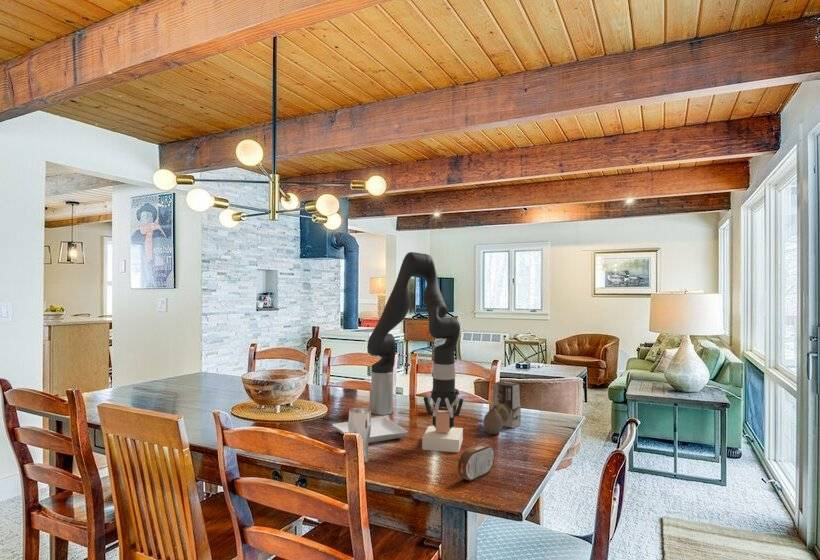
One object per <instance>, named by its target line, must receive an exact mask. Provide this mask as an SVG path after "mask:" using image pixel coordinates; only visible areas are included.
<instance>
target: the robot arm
mask: <svg viewBox="0 0 820 560" xmlns="http://www.w3.org/2000/svg"><path fill="white" fill-rule="evenodd" d="M398 271H399V272H398V274H397V278H396V281H395V283H394V286H393V289H392V290H391V293H390V295H389V297H388V299H387V302H386V304H385V306H384V309H383V311H382V312H381V313H382V314H381V315H380V318H379V319H378V322H377V324H376V325H375V327H374V329H373V330H372V332H371V334H370V335H369V338H368V341H367V352H368V354H369V355H371V356H375V357H380V359H379V360H378V361H376V362H375V363H372V365H371V370H370V371H371V372H370V373H371V375H370V376H371V378H370V379H371V381H370V390H369V405H368V406H369V408H368V409H370V410H371V414H372V415H377V416H378V415H379V416H380V415H382V416H383V415H386V416H387V415H390V414H393V411H394V410H393V408H394V407H393V403H394V401H393V400H394V399H393V397H394V367H395V361H396V349H397V348H396V347H397V346H396V343H397V342H396V340H395V338H396V337H394V335H393V334H392V333H390V332H391V331H392V330H393V329H395V328H396V327H397V326H398V325H400V323H402V322H403V321H404V319H405V318H406V316H407V315H408V312H409V310H410V309H411V305H412V302H411V301H412V300H411V296H410V295H411V294H410V293H409V292H410V291H409V286H408V285H409V283H410V280H411V278H412V277H414V278H421V279H422V278H423V279H424V281H425V282H426V286H425V289H424V292H423V293H422V294H423V295H422V299H423V300H422V301H423V303H424V306H425V310H426V312H427V315H428V316H427V317H428V331H429V334H430V336H431V337H433V339H441V340H442V339H445V341H444V343H443V344H440V345H437V346H434V349H433V367H432V389H433V392H432V394H431V393H430V395H427V394H426V395H425V396H424V397H423V402H424V406H425V408H426V409H425V410H426V413H427V414H428V415H431V417H432V426H434V427H435V428H436V413H437V411H438V409H439V407H445V408H448V411H449V413H450V424H449V428H450V429H451V428H452V427H453V428H454V424H455V417H458V416H459V415H460V413H461V410H462V407H463V404H464V401H465V400H464V399H465V398H463V397H459V396H458V397H457V396H456V394H455V389H456V366H455V358H456V357H455V353H456V352H455V351H456V348H457V343H458V340H459V336H460V334H461V325H460V322H459V320H458V319H457V318H455V317H446V316H447V314H448V306H447V304H446V302H445V300H444V297H443V294H442V292H441V289H440V285H439V280H438V274H437V269H436V265H435V261H434V259H433V257H432V256H431V255H429V254H427V253H420V252H415V251H411V252H407V253H406V255H405V256H404V257H403V260H402V263H401V265H400V269H399V270H398ZM431 399H432V400H431ZM455 400H456V401H457V409H456V412H454V411H453V407H452V403H453V402H454V401H455ZM431 401H432V402H433V401H434V402H435V404H436V405H435V408H434V410H432V406H431V403H430V402H431Z"/></svg>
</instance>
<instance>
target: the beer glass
mask: <svg viewBox="0 0 820 560" xmlns="http://www.w3.org/2000/svg"><path fill="white" fill-rule="evenodd" d="M371 419H372V413H371V410H370V409H369V408H365V407H354V408H350V409H349V411H348V421H347V422H348V430H349V433H359V434H360V435H361V436H362V439H363V446H364V457H365V462H364V463H368V462H369V461H370V454H369V444H370V443H369V438H370V432H371Z"/></svg>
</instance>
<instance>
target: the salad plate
mask: <svg viewBox="0 0 820 560" xmlns="http://www.w3.org/2000/svg"><path fill="white" fill-rule="evenodd" d="M332 427H333V429H335V430H336V431H337V432H338V433H340V434H342V435H343V434H344V433H345V432H349V430H348V421H344V422H338V423H337V422H336V423H332ZM407 434H408V430H406V429H405V428H404V427H401V426H400V425H398V424H396V423H395V422H393V421H392V420H390V419H388V418H387V417H383V416H382V417H381V416H380V417H374V418H371V432H370V438H369V443H368V444H371V443H378V442H379V443H380V442H383V441H384V442H387V441H391V440H396V439H400V438H402V437H404V436H406V435H407Z"/></svg>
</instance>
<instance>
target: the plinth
mask: <svg viewBox="0 0 820 560" xmlns="http://www.w3.org/2000/svg"><path fill="white" fill-rule="evenodd" d="M421 440H422V441H421V450H423V451H435V452H446V453H447V452H448V453H460V451H461V446H462V444H463V440H464V428H463V427H454V426H453V427H452V428H451V429H450V431H449V432H438V431H436V428H435V427H434V426H433V425H428V426H427V428H426V430H425V432H424V434H423V435H422V437H421Z"/></svg>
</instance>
